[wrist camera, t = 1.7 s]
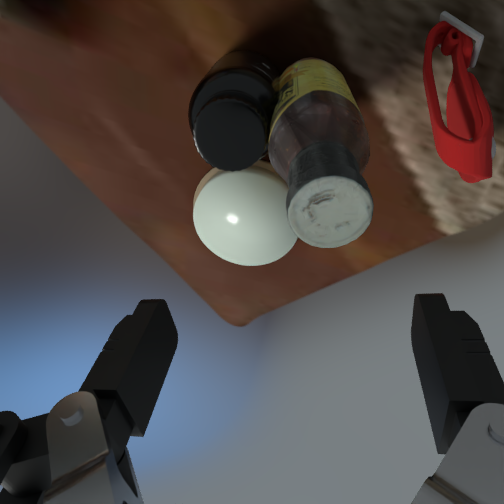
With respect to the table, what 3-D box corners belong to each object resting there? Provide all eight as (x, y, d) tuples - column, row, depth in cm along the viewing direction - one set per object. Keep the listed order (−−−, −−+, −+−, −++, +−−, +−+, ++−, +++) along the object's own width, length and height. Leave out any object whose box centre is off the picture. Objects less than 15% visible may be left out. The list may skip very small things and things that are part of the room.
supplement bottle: (300, 95, 34) (306, 142, 25) (243, 145, 37) (228, 204, 28) (247, 29, 32) (230, 52, 22) (190, 88, 35) (154, 132, 25)
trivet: (300, 151, 37) (299, 162, 35) (310, 253, 44) (309, 267, 42) (182, 163, 40) (174, 174, 38) (208, 258, 47) (203, 271, 45)
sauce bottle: (275, 52, 32) (266, 129, 16) (352, 57, 32) (420, 140, 16) (270, 131, 36) (257, 258, 20) (338, 136, 36) (382, 267, 20)
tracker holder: (471, 151, 35) (515, 206, 27) (419, 163, 37) (446, 219, 29) (468, -1, 29) (525, 12, 21) (404, 20, 30) (435, 40, 22)
